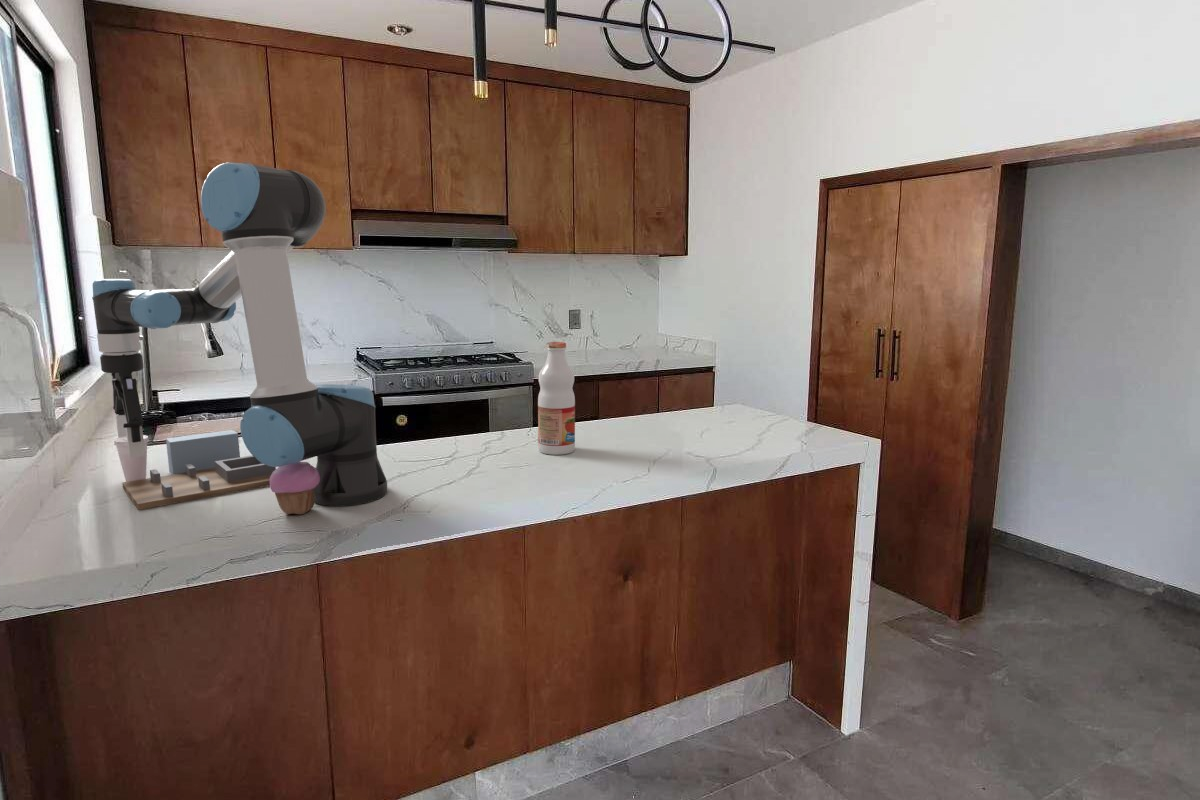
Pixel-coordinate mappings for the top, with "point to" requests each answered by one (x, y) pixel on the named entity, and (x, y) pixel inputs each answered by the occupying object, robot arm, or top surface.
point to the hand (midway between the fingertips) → (131, 449)
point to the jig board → (186, 488)
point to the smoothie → (131, 460)
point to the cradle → (242, 468)
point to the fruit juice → (556, 403)
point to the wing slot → (190, 472)
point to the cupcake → (295, 487)
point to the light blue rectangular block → (201, 450)
